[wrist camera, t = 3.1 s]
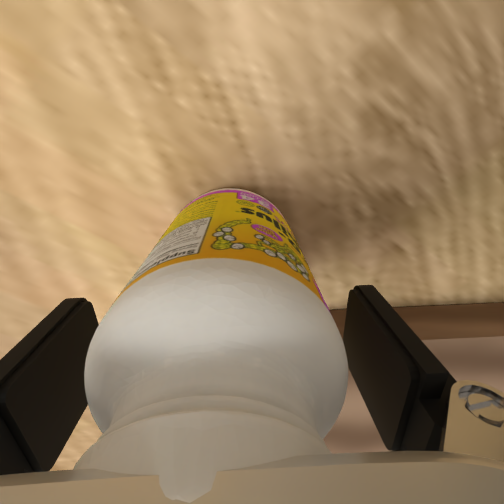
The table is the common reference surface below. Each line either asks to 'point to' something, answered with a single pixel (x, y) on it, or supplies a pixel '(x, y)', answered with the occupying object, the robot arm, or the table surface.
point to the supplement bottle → (215, 352)
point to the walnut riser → (446, 351)
